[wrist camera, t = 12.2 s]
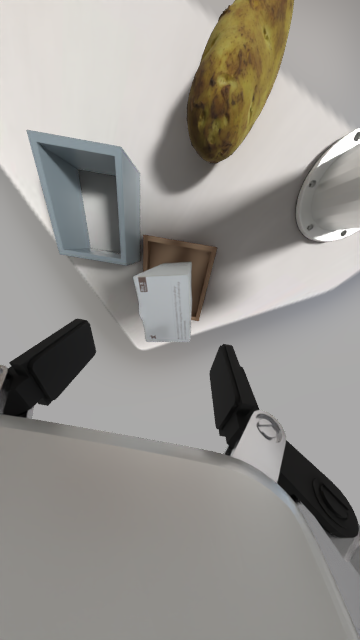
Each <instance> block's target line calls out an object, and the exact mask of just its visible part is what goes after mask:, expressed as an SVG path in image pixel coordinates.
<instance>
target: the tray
mask: <svg viewBox="0 0 360 640" xmlns="http://www.w3.org/2000/svg"><path fill="white" fill-rule="evenodd" d="M216 251H217V247H213V246H207V245H201V244H195V243H189V242H184V241H178V240H172V239H166V238H161V237H155V236H149V235H143V272H144V271H147V270H149V269H151V268H154V267H156V266H158V265H160V264H163V263H178V262H192V269H191V291H192V311H191V320H195V321H199V318H200V314H201V310H202V306H203V302H204V298H205V294H206V290H207V286H208V282H209V278H210V274H211V270H212V267H213V263H214V259H215V255H216Z"/></svg>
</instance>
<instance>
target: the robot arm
mask: <svg viewBox="0 0 360 640" xmlns="http://www.w3.org/2000/svg"><path fill="white" fill-rule="evenodd" d="M296 220H297V225H298V227H299V229H300V231H301V232H302V234H303V235H304V236H305V237H307V238H309V239H310V240H314V241H319V242H328V241H335V240H339V239H342V238H345V237H347V236H350V235H351V234H353V233H355V232H357V231H359V230H360V128H357V129H355V130H354V131H352V132H351V133H349V134H348V135H346V136H344V137H343V138H342V139H340V140H339V141H338V142H336V143H335V144H334V145H332V146H331V147H330V148H329V149H328V150H327V151H326V152H325V153H324V154H323V155H322V156H321V158H320V159H319V160H318V161H317V162H316V164H315V165H314V166H313V168H312V169H311V171H310V173H309V174H308V176H307V177H306V179H305V181H304V184H303V186H302V188H301V190H300V193H299V196H298V200H297V206H296ZM307 227H308V228H307ZM95 353H96V350H95V344H94V340H93V336H92V331H91V327H90V324H89V323H88V321H87V320H82V319H75V320H74V321H72V322H71V323H69V324H68V325H66V326H64V327H63V328H61V329H60V330H58V331H57V332H55V333H54V334H52V335H51V336H49V337H48V338H46V339H45V340H43V341H42V342H40V343H39V344H37V345H35V346H34V347H32V348H31V349H29V350H28V351H26V352H25V353H23V354H22V355H20V356H19V357H17V358H16V359H14V360H13V361H11V362H10V364H11V367H10V368H7V367H6V366H3V365H0V640H360V526H359V524H358V521H357V518H356V516H355V513H354V511H353V509H352V507H351V505H350V504H349V502H348V500H347V499H346V498H345V496H344V495H343V494H342V492H341V491H340V490H339V489H338V488H337V487H336V486H335V485H334V484H333V482H331V481H330V480H329V479H328V478H327V477H326V476H325V475H324V474H323V473H322V472H320V471H319V470H318V469H317V468H316V467H315V466H314V465H313V464H312V463H311V462H309V461H308V460H307V459H306V458H305V457H304V456H303V455H302V454H301V453H299V451H297V450H296V449H295V448H294V447H293V446H292V445H291V444H290V443H289V442H288V441H286V435H285V432H284V430H283V428H282V426H281V424H280V423H279V422H278V421H277V420H276V419H275V418H274V417H273V416H272V415H271V414H269V413H267V412H265V411H263V410H259V408H258V405H257V403H256V400H255V397H254V395H253V392H252V390H251V387H250V385H249V382H248V380H247V377H246V374H245V372H244V369H243V368H242V367H241V366H240V365H239V362H238V360H237V357H236V354H235V351H234V349H233V346H232V345H226V344H223V345H222V346H220V347H219V350H218V352H217V355H216V357H215V360H214V362H213V365H212V367H211V370H210V381H211V391H212V399H213V407H214V416H215V424H216V428H217V429H219V434H220V436H225V437H226V441H227V444H228V446H227V448H226V449H225V452H224V453H223V454H220V453H216V452H213V451H207V450H203V449H197V448H193V447H188V446H183V445H177V444H172V443H166V442H161V441H155V440H150V439H144V438H139V437H133V436H127V435H122V434H116V433H110V432H104V431H99V430H93V429H87V428H82V427H76V426H70V425H64V424H58V423H53V422H47V421H41V420H35V419H32V415H33V408H34V405H35V404H36V403H37V402H38V404H42V405H47V406H48V405H49V404H50V403H51V401H53V400H55V399H56V398H57V397H58V396H59V395H60V394H61V393H62V392H63V391H64V390H65V388H66V387H67V386H68V385H69V384H70V383H71V382H72V380H73V379H74V378H75V377H76V376H77V375H78V374H79V372H80V371H81V370H82V369H83V368H84V367H85V366H86V364H87V363H88V362H89V361H90V360H91V359H92V358H93V356H94V355H95Z"/></svg>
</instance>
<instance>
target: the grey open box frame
mask: <svg viewBox="0 0 360 640" xmlns="http://www.w3.org/2000/svg"><path fill="white" fill-rule="evenodd" d="M27 134H28V137H29V141H30V145H31V149H32V152H33V156H34V160H35V164H36V167H37V171H38V175H39V179H40V182H41V186H42V190H43V193H44V197H45V201H46V205H47V208H48V212H49V216H50V220H51V223H52V227H53V231H54V235H55V238H56V242H57V246H58V249H59V253H60V254H62V255H68V256H73V257H79V258H85V259H91V260H97V261H103V262H109V263H115V264H121V265H129V264H132V263H135V262H138V261H140V172H139V171H138V170H137V168H136V167H135V165H134V164H133V163H132V161H131V160H130V159H129V157H128V156H127V154H126V153H125V152H124V150H123V149H122V147H119V146H114V145H108V144H103V143H97V142H92V141H86V140H81V139H75V138H70V137H64V136H59V135H53V134H47V133H42V132H36V131H31V130H27ZM78 169H79V170H85V171H91V172H96V173H102V174H107V175H113V176H116V184H117V200H118V216H119V232H120V248H121V253H116V252H110V251H104V250H98V249H92V248H90V242H89V236H88V229H87V223H86V217H85V211H84V205H83V198H82V192H81V186H80V180H79V174H78Z"/></svg>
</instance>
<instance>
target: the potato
mask: <svg viewBox="0 0 360 640" xmlns="http://www.w3.org/2000/svg"><path fill="white" fill-rule="evenodd" d="M293 5H294V0H235V1H234V3H233V4H232V5H231V6H230V5H229V6H228V8H227V9H225V11H223V13H222V14H221V16H220V17H219V20H218V23H217V24H216V26H215V28H214V30H213V31H212V33H211V35H210V38H209V40H208V42H207V45H206V47H205V50H204V52H203V55H202V59H201V62H200V66H199V68H198V70H197V72H196V74H195V77H194V79H193V82H192V86H191V89H190V93H189V98H188V104H187V123H188V131H189V136H190V140H191V143H192V145H193V147H194V149H195V150H196V152H197V153H198V154H199V155H200V157H201V158H203V159H204V160H206V161H208V162H210V163H218V162H220V161H222V160H224V159H226V158H228V157H229V156H230V155H232V154H233V152H234V151H235V150H236V149H237V148H238V147H239V145H240V144H241V143H242V142H243V140H244V139H245V137H246V136H247V134H248V133H249V131H250V130H251V128H252V126H253V124H254V122H255V121H256V119H257V118H258V116H259V115H260V113H261V111H262V109H263V107H264V105H265V103H266V100H267V98H268V96H269V94H270V92H271V89H272V87H273V84H274V82H275V80H276V77H277V74H278V71H279V68H280V65H281V61H282V58H283V54H284V50H285V46H286V42H287V38H288V33H289V29H290V24H291V19H292V13H293Z"/></svg>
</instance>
